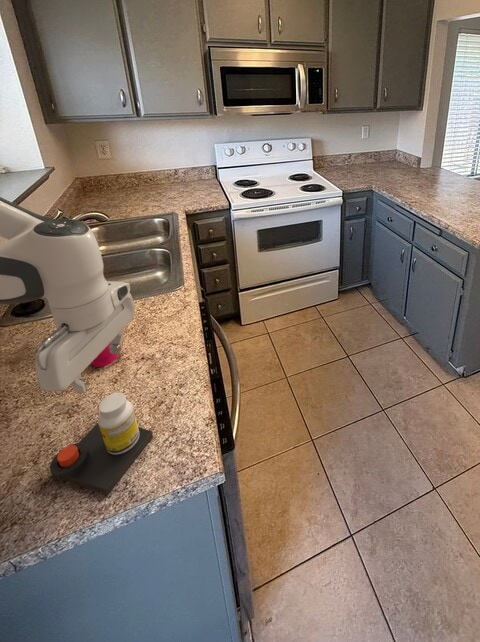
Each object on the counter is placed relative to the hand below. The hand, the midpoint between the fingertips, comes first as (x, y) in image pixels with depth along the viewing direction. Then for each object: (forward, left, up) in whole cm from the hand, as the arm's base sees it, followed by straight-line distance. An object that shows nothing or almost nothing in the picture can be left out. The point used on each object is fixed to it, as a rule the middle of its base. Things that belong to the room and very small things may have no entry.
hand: (100, 369), depth 68 cm
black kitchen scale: (-2, -2, -21) cm, 22 cm away
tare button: (-6, -6, -18) cm, 20 cm away
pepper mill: (-25, +20, -21) cm, 39 cm away
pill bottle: (0, 0, -20) cm, 20 cm away
